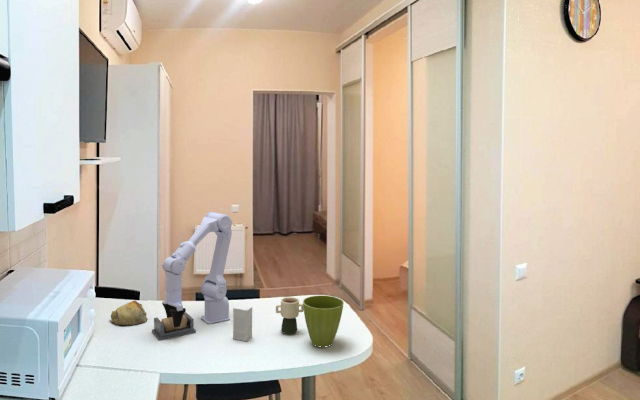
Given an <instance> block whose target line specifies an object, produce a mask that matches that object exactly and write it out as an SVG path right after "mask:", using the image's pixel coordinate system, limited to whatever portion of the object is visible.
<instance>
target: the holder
mask: <svg viewBox="0 0 640 400" xmlns="http://www.w3.org/2000/svg"><path fill="white" fill-rule="evenodd" d="M184 315H185V317H186V322H187V326H186V328H185V329H180V330H175V331H170V332H166V333H164V324H163V323H162V322H161V319H159V317H154V318H153V329H151V333H152V334H153V335H154V337H155V338H156V339H157V340H158V341H163V340H167V339H169V340H170V339H172V338H178V337H182V336H186V335H187V336H188V335H192V334H196V333H197V330H196V329H195V328H194V327H195V326H194V324H195V323H194V321H195V319H194V318H193V317H192V316H191V315H190V314H188V313H187V312H186V311H185V313H184Z"/></svg>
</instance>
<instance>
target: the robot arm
mask: <svg viewBox="0 0 640 400" xmlns="http://www.w3.org/2000/svg"><path fill="white" fill-rule="evenodd" d="M232 224H233V220H232V219H231V216H229V215H228V214H226V213H220V212H215V211H209V212H207V213H206V214H205V216H204V217H202V221H201V224H200V225H199V226H198V227H197V228H196V230H195V232H194V233H193V234H192V235H191V237H190V238H189V239H188V240H187V241H183V242H181V243H180V244H179V246H178V248H177V249H176V250H175V251H174V252H173V253H172V254H171V256H168V257H167V258H165V260H164V261H163V264H161V267H162V269H163V271H164V274H165V295H164V299H165V300H162V302H161V305H162V306H163V308H164V311H165V315H166V318H169V317H172V318H173V324H174V327H180V325H181V321H182V317H183V315H184V313H185V312H186V311H187V309H186V307H184V306H183V298H182V297H183V296H182V293H183V292H182V285H183V284H182V273H183V272H184V270H185V268H186V264H187V262H188V261H189V260H190V258H191V257H192V256H193V254H195V252H196V247H197V245H199V243H200V242H201V241H202V240H204V238H205V237H206V236H207V235H208V234H209V233H213V232H214V234H215V235H216V236H217V237H216V242H215V245H214V250H213V256H212V261H211V265H210V270H209V274H207V275H206V276H205V277H204V281H203V283H202V284H201V286H200V292H201V294H202V295H203V298H204V315H202V316H201V317H200V318H201V319H202V320H203V321H204V322H205V323H206V324H208V325H209V324H214V323H219V322H224V321H230V320H231V319H230V301H229V299H228V297H227V296H226V294H227V280H226V279H225V278H224V273H225V267H226V263H227V259H228V258H227V257H228V254H229V249H230V244H231V239H232V235H233V234H232Z"/></svg>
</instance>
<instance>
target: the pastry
mask: <svg viewBox="0 0 640 400" xmlns="http://www.w3.org/2000/svg"><path fill="white" fill-rule="evenodd" d="M110 320H111V322H112V323H113V324H114V325H117V326H118V325H119V326H136V325H141V324H145V323H146V322H147V321H148V317H147V312H146V311H145V309H144V307H143V305H142V303H139V302H138V301H136V300H132V301H129V302H127V303H125V304H122V305H121V306H119V307H117V308H116V309H115V310H112V312H111V314H110Z"/></svg>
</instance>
